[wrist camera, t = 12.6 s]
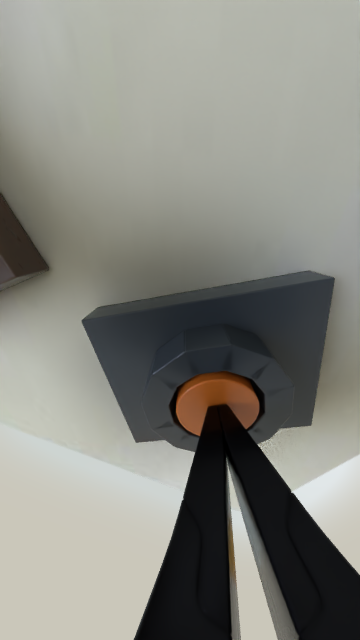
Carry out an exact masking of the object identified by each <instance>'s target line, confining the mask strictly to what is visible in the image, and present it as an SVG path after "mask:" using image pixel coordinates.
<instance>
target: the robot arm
mask: <svg viewBox="0 0 360 640" xmlns="http://www.w3.org/2000/svg"><path fill="white" fill-rule="evenodd" d="M226 458H227V459H226ZM227 463H228V467H229V471H230V474H231V478H232V481H233V485H234V488H235V492H236V495H237V499H238V502H239V506H240V509H241V512H242V516H243V519H244V523H245V526H246V530H247V533H248V537H249V540H250V544H251V547H252V551H253V554H254V558H255V561H256V565H257V568H258V572H259V575H260V579H261V582H262V585H263V589H264V592H265V596H266V599H267V603H268V607H269V610H270V613H271V617H272V621H273V624H274V628H275V631H276V635H277V638H278V640H360V575H359V574H358V573H357V571H356V570H355V569H354V568H353V567H352V566H351V565H350V563H349V562H348V561H347V560H346V559H345V557H344V556H343V555H342V554H341V553H340V552H339V550H338V549H337V548H336V547H335V546H334V544H333V543H332V542H331V541H330V540H329V538H328V537H327V536H326V535H325V534H324V532H323V531H322V530H321V529H320V527H319V526H318V525H317V523H316V522H315V521H314V520H313V518H312V517H311V516H310V514H309V513H308V512H307V511H306V510H305V508H304V507H303V505H302V504H301V503H300V501H299V500H298V499H297V497H296V496H295V495H294V494H293V493H291V489H290V488H289V487H288V485H287V484H286V483H285V481H284V480H283V479H282V477H281V476H280V475H279V473H278V472H277V470H276V469H275V468H274V466H273V465H272V464H271V462H270V461H269V460H268V458H267V457H266V456H265V454H264V453H263V452H262V450H261V449H260V448H259V446H258V445H257V444H256V442H255V441H254V439H253V438H252V437H251V435H250V434H249V433H248V431H247V430H246V429H245V427H244V426H243V425H242V423H241V422H240V421H239V419H238V418H237V417H236V415H235V414H234V413H233V411H232V410H231V408H230V407H229V406H228V405H227V404H222V405H218V406H216V405H213V406H208V408H207V411H206V415H205V418H204V422H203V426H202V429H201V433H200V437H199V441H198V444H197V448H196V452H195V455H194V459H193V463H192V466H191V470H190V474H189V477H188V481H187V485H186V488H185V492H184V496H183V499H184V500H182V503H181V506H180V510H179V514H178V517H177V520H176V524H175V527H174V530H173V534H172V537H171V540H170V543H169V546H168V549H167V552H166V555H165V557H164V560H163V563H162V566H161V568H160V571H159V574H158V577H157V579H156V582H155V585H154V588H153V590H152V593H151V595H150V598H149V601H148V603H147V606H146V609H145V611H144V614H143V617H142V619H141V622H140V625H139V627H138V630H137V633H136V636H135V638H134V640H241V636H240V623H239V610H238V597H237V584H236V571H235V557H234V544H233V531H232V518H231V505H230V492H229V479H228V467H227Z"/></svg>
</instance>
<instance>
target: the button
mask: <svg viewBox="0 0 360 640" xmlns="http://www.w3.org/2000/svg"><path fill="white" fill-rule="evenodd" d="M222 404H227V405H228V406H229V407H230V408H231V410H232V411H233V413H234V414H235V415H236V417H237V418H238V419H239V421H240V422H241V423H242V425H243V426H244V427H245V429H247V428H248V427H250V426H251V425H252V424H253V422H254V421H255V420H256V418H257V416H258V413H259V400H258V398H257V395H256V393H255V391H254V389H253V386H252V384H251V382H250V380H249V378H248V377H244V376H241V375H238V374H234V373H231V372H228V371H220V372H213V373H205V374H197V375H196V376H194V377H192V378H191V379H189V380H188V381H186V382H185V383H183V384H181V385H180V386H178V387H177V401H176V413H177V417H178V419H179V421H180V423H181V424H182V425H183V427H185V428H186V429H187V430H188V431H190V432H192V433H194V434H196V435H199V436H200V433H201V429H202V426H203V422H204V418H205V415H206V411H207V408H208V406H213V405H216V406H218V405H222Z"/></svg>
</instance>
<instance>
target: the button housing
mask: <svg viewBox="0 0 360 640" xmlns="http://www.w3.org/2000/svg"><path fill="white" fill-rule="evenodd" d="M334 280H335V278H334V277H330V276H326V275H323V274H319V273H316V272H312V271H304V272H299V273H293V274H287V275H282V276H276V277H270V278H264V279H259V280H253V281H247V282H242V283H236V284H230V285H224V286H219V287H213V288H207V289H202V290H196V291H190V292H184V293H179V294H173V295H167V296H162V297H156V298H150V299H144V300H139V301H133V302H127V303H121V304H116V305H110V306H104V307H99V308H96V309H95V310H94V311H93V312H91V313H90V314H89V315H88V316H86V317H85V318H84V319H83V320H82V324H83V326H84V328H85V330H86V332H87V335H88V337H89V339H90V341H91V344H92V346H93V348H94V350H95V353H96V355H97V357H98V359H99V361H100V364H101V366H102V368H103V370H104V373H105V375H106V377H107V379H108V382H109V384H110V386H111V388H112V390H113V393H114V395H115V397H116V399H117V402H118V404H119V406H120V408H121V411H122V413H123V415H124V417H125V419H126V422H127V424H128V426H129V428H130V431H131V433H132V435H133V437H134V440H135V442H136V443H138V442H148V441H158V440H166V441H167V442H169V443H170V444H171V445H173V446H175V447H176V448H181V449H185V450H189V451H193V452H196V448H197V444H198V441H199V437H200V436H199V435H196V434H194V433H192V432H190V431H188V430H187V429H186V428H185V427H183V425H182V424H181V423H180V421H179V419H178V417H177V413H176V401H177V387H178V386H180V385H181V384H183V383H185V382H186V381H188V380H189V379H191V378H192V377H194V376H196V375H197V374H205V373H213V372H220V371H228V372H231V373H234V374H238V375H241V376H244V377H248V378H249V380H250V382H251V384H252V386H253V389H254V391H255V393H256V395H257V398H258V400H259V413H258V416H257V418H256V420H255V421H254V422H253V424H252V425H251V426H250V427H248V428H247V429H246V430H247V431H248V433H249V434H250V435H251V437H252V438H253V439H254V441H255V442H256V444H259V443H261V442H264V441H266V440H268V439H270V437H273V435H274V434H275V433H276V432H277V431H278V430H279V429H281V428H291V427H301V426H311V424H312V418H313V412H314V406H315V399H316V393H317V387H318V381H319V374H320V368H321V362H322V355H323V349H324V343H325V337H326V330H327V324H328V318H329V312H330V305H331V299H332V293H333V286H334Z"/></svg>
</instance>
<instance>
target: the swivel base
mask: <svg viewBox="0 0 360 640" xmlns="http://www.w3.org/2000/svg"><path fill="white" fill-rule="evenodd" d="M47 270H48V267H47V265H46V264H45V262H44V261H43V259H42V257H41V256H40V254H39V253H38V251H37V250H36V248H35V247H34V245H33V244H32V242H31V241H30V239H29V237H28V236H27V234H26V233H25V231H24V230H23V228H22V227H21V225H20V224H19V222H18V221H17V219H16V217H15V216H14V214H13V213H12V211H11V210H10V208H9V207H8V205H7V204H6V202H5V201H4V199H3V197H2V196H1V194H0V291H1V290H4V289H6V288H8V287H10V286H13V285H15V284H17V283H20V282H22V281H24V280H27V279H29V278H31V277H33V276H36V275H38V274H40V273H43V272H45V271H47Z"/></svg>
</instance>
